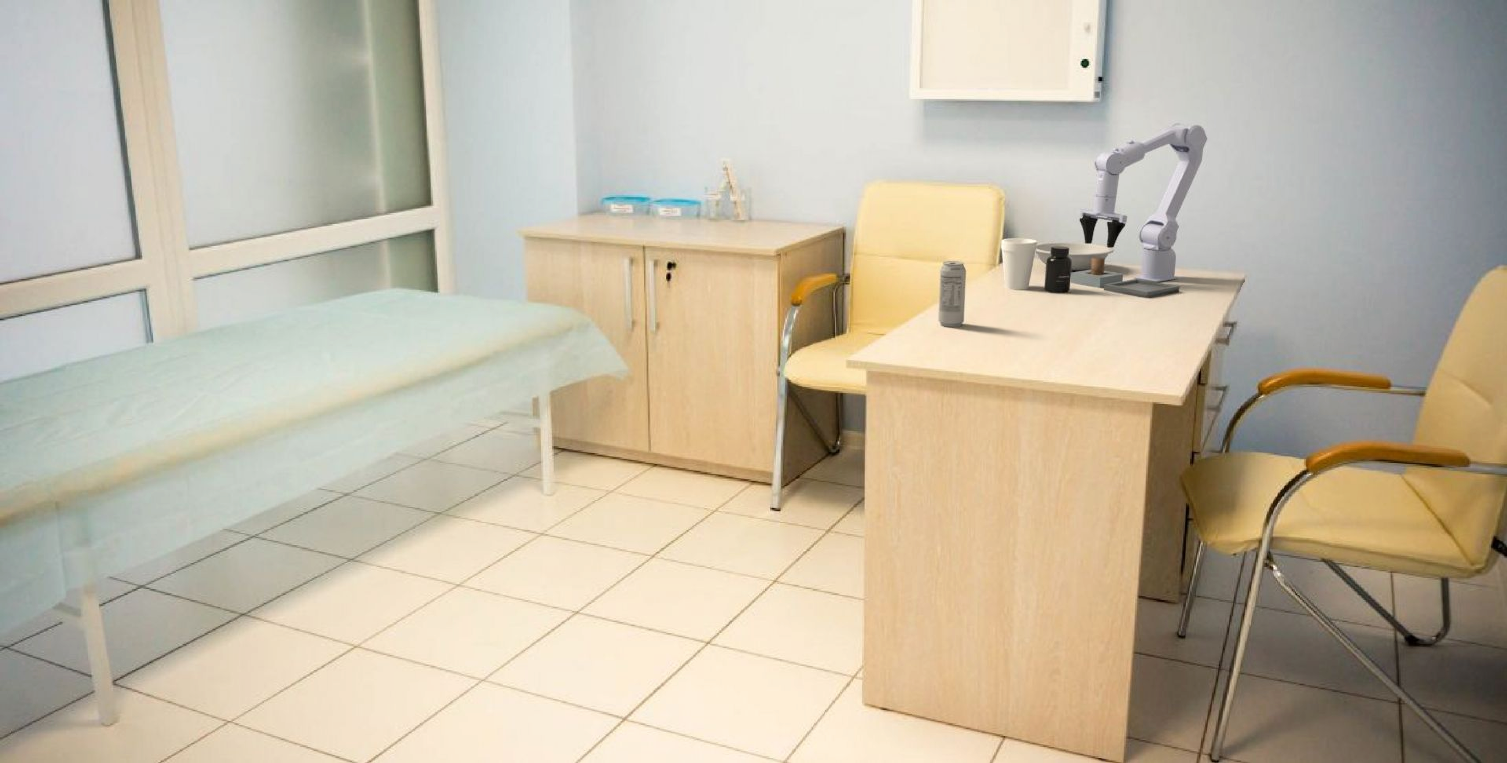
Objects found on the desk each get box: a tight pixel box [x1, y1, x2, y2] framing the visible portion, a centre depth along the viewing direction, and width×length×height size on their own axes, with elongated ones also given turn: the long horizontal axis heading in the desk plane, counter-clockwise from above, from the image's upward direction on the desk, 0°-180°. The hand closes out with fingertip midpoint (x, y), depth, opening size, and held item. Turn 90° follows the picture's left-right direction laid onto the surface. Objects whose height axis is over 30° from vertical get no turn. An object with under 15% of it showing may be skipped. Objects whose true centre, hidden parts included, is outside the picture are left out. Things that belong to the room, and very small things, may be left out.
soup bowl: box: [1035, 241, 1115, 272], centre depth 371 cm, size 24×24×7 cm
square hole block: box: [1070, 269, 1124, 289], centre depth 350 cm, size 10×10×3 cm
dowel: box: [1090, 258, 1106, 275], centre depth 349 cm, size 4×4×7 cm
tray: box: [1103, 278, 1180, 299], centre depth 338 cm, size 14×14×2 cm
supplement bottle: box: [1043, 246, 1072, 294], centre depth 337 cm, size 7×7×12 cm
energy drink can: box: [938, 260, 967, 328], centre depth 296 cm, size 6×6×15 cm
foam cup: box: [1000, 237, 1038, 291], centre depth 342 cm, size 10×9×13 cm
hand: (1099, 245), depth 347 cm, fingers open, 7 cm apart
